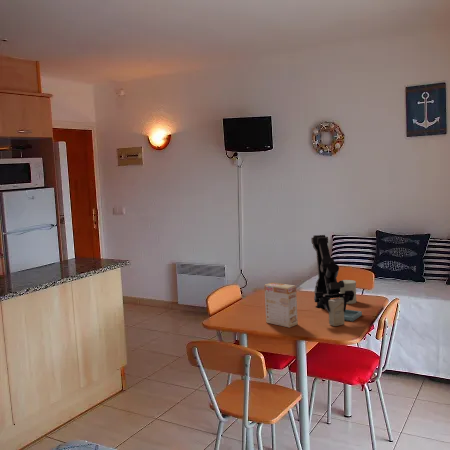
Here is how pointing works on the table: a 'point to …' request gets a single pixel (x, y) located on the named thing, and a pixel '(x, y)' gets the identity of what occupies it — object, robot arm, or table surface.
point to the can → (349, 286)
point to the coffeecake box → (281, 304)
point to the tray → (352, 315)
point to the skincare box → (336, 312)
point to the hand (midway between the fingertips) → (337, 311)
